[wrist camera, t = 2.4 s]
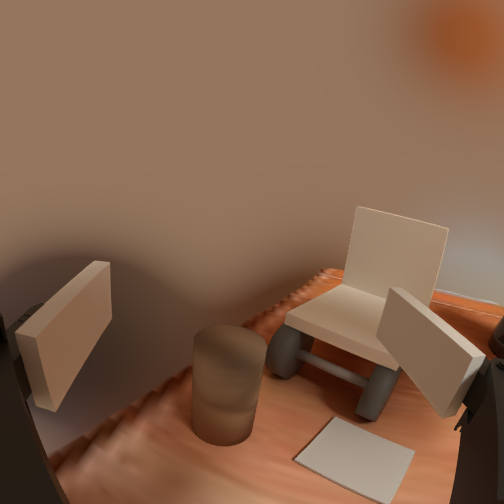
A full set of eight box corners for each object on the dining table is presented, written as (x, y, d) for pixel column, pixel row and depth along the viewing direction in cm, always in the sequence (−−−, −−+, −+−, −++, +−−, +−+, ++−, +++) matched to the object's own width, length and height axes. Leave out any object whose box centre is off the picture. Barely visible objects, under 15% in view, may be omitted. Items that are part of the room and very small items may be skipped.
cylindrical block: (221, 397, 32) (229, 318, 29) (264, 425, 28) (281, 345, 26) (179, 420, 27) (178, 337, 25) (222, 456, 24) (232, 373, 21)
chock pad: (334, 418, 30) (335, 416, 30) (414, 453, 24) (415, 451, 24) (293, 460, 24) (294, 459, 24) (387, 506, 18) (389, 505, 18)
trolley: (339, 324, 53) (364, 206, 47) (414, 352, 44) (451, 227, 39) (261, 379, 36) (288, 206, 31) (367, 433, 27) (435, 242, 22)
